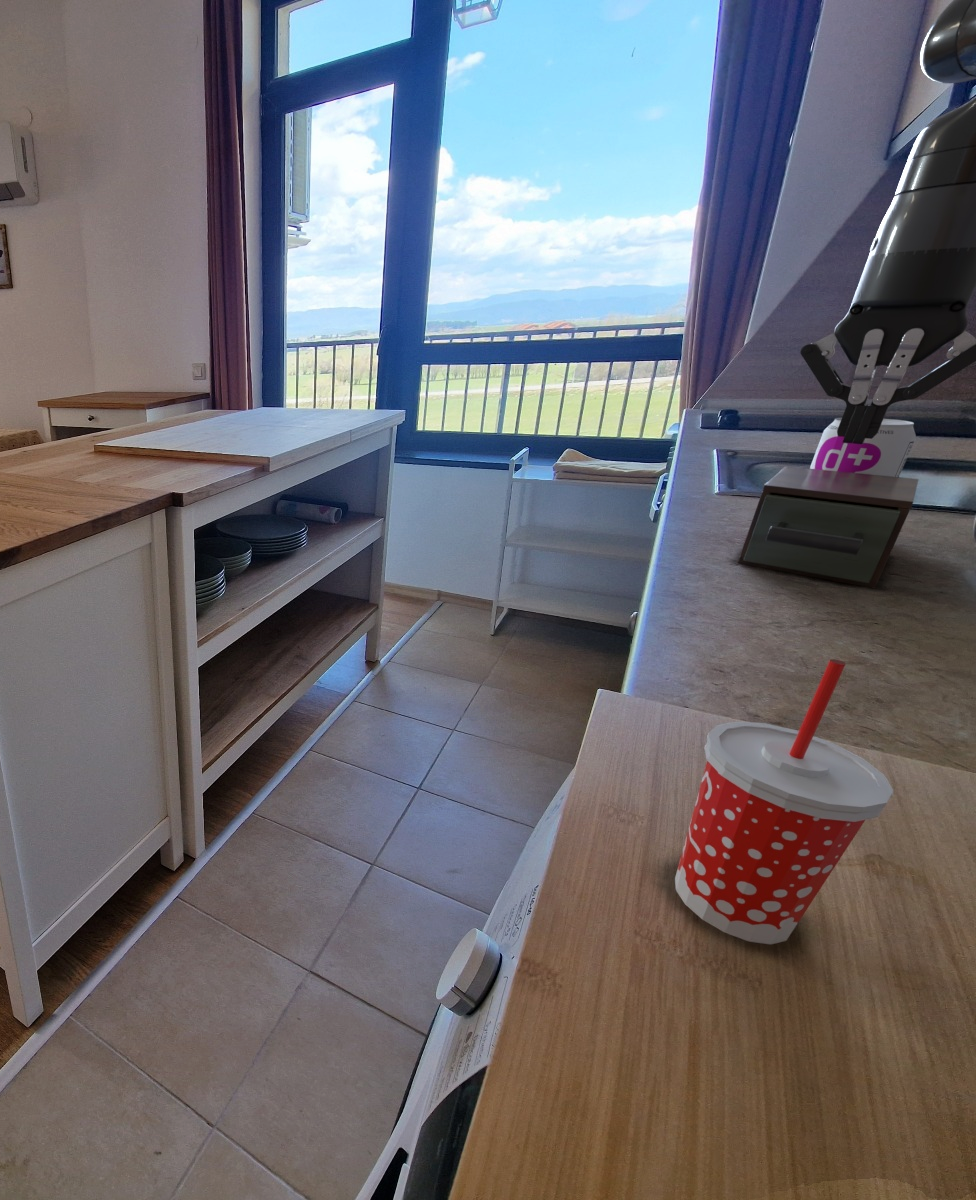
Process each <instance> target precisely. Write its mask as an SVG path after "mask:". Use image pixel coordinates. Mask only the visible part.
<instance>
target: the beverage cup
mask: <svg viewBox="0 0 976 1200" xmlns="http://www.w3.org/2000/svg"><path fill="white" fill-rule="evenodd" d="M846 664H847V663H846V662H845V661H843V660H840V659H836V658H832V659H829V661H828V663H827V666H826V668H825V670H824V672H823V675H822V677H821V679H820V682H819V684H818V686H817V689H816V691H815V693H814V696H813V698H812V700H811V702H810V705H809V707H808V709H807V712H806V714H805V716H804V718H803V720H802V723H801V726H800V728H799V730H796V729H792V728H788V727H784V726H779V725H775V724H772V723H771V724H770V723H765V722H753V721H742V720H741V721H739V720H738V721H730V722H725V723H719V724H718V723H717V725H716V726H715V727H713V728H712V729H711V730H710V731H709V732H708V733H707V735H706V741H707V742H706V744H705V745H704V746H703V748H704V754H705V758H706V764H705V768H704V771H703V774H702V779H701V782H700V786H699V789H698V794H697V797H696V800H695V803H694V808H693V811H692V816H691V818H690V823H689V826H688V829H687V832H686V838H685V841H684V845H683V848H682V851H681V855H680V859H679V863H678V865H677V866H678V867H677V870H676V874H675V877H674V883H675V884H674V885H675V891H676V893H677V894H678V896H679V897H680V899H681V900H682V902H683V903H684V905H685V906H686V907H688V908H689V909H690V910H691V911H692V912H693V913H694V914H695V915H696V916H698V917H699V918H700V919H701V920H702V921H704V922H705V923H707V924H710V925H711V926H713V927H714V928H715V929H718V930H720V931H721V932H723V933H725V934H727V935H729V936H733V937H736V938H738V939H741V940H743V941H746V942H751V943H758V944H766V945H774V944H778V943H782V942H786V941H788V939H789V937H790V936H791V934H792V933H793V931H794V930H795V928H796V927H797V925H798V924H799V922H800V921H801V919H802V917H804V914H805V913H806V911H807V910H808V909H809V907H810V905H811V904H812V902H813V901H814V899H815V898H816V897H817V894H818V893H819V892H820V890H821V888H822V887H823V886H824V884H825V882H826V881H827V879H828V878H829V876H830V875H831V873H832V871H834V869H835V867H836V866H837V864H838V863H839V861H840V860H841V858H842V857H843V855H844V854H845V852H846V850H848V847H849V846H850V844H851V843H852V841H853V840H854V838H855V837H856V835H857V833H858V832H859V831H860V829H861V828H862V827H863V824H864V823H865V821H866V820H870V819H876V818H878V817H879V816H880V814H881V813H882V811H883V809H884V808H885V807H886V806H887V803H888V802H889V800H890V799H891V797H892V795H893V793H894V789H893V787H892V785H891V784H890V782H889V780H888V777H886V775H885V774H884V773H883V772H881V771H880V770H878V769H877V768H876V767H875V766H873V765H872V764H871V763H870V762H869V761H867V760H866V759H864V758H863V757H861V756H860V755H857V754H855V753H853V752H851V751H849V750H847V749H845V748H844V747H842V746H840V745H837V744H836V743H834V742H832V741H828V740H827V739H823V738H821V737H817V736H815V733H816V731H817V729H818V727H819V724H820V722H821V720H822V718H823V715H824V714H825V711H826V709H827V708H828V705H829V702H830V699H831V698H832V695H833V693H834V691H835V690H836V689H835V688H836V687H837V684H838V682H839V680H840V678H841V675H842V673H843V671H844V668H845V666H846Z"/></svg>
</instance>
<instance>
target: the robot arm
mask: <svg viewBox="0 0 976 1200" xmlns="http://www.w3.org/2000/svg"><path fill="white" fill-rule="evenodd" d="M919 62H920V63H919V64H920V68H921V70H922V72H923V74H924V75H925V76H926V77H927V78H928V79H930V80H931V81H934V82H936V83H940V84H958V83H959V84H960V83H965V82H969V81H973V80H976V0H951V1H950V2H949V4H948V5H947V6H946V7H944V9H943V10H942V11H941V12H940V14H939V15H938V16H937V18H936V19H935V20H934V21H933V23H932V25H931V26H930V28H929V30H928V31H927V33H926V35H925V37H924V39H923V42H922V45H921V49H920V55H919ZM869 251H870V252H869V255H868V257H867V260H866V263H865V265H864V268H863V271H862V274H861V276H860V279H859V282H858V284H857V287H856V290H855V292H854V296H853V299H852V301H851V304H850V307H849V308H848V309H849V310H847V311H848V312H847V313H846V315H845V316H844V318H842V319H841V320H840V321H839V322H838V323H837V324H836V326H835V327H834V330H833V331H834V332H832V333H830V334H828V335H825V336H824V337H822V338H820V339H818V340H816V341H814V342H811V343H808V344H806V345H804V346H802V348H801V349H800V352H799V353H800V355H801V357H802V358H803V360H804V362H805V363H806V364H807V366H808V368H809V369H810V371H811V372H812V374H813V376H814V378H815V379H816V380H817V382H818V383H819V385H820V386H821V388H822V389H823V391H824V392H825V395H827V396H828V397H830V398H837V399H839V400H842V401H843V402H844V403H845V404H846V406H845V409H844V412H843V414H842V417H841V418H842V419H841V422H840V424H839V427H838V430H837V435H838V436H840V437H844V439H843V442H842V443H853V444H863V443H864V440H865V438H868V439H872V438H873V437H874V436H875V435H876V434H877V433H878V431H879V428H880V426H881V424H882V421H883V419H885V417H886V413H887V411H888V409H889V407H890V406H891V405H893V404H896V403H898V402H904V401H909V400H915V399H917V398H918V397H921V396H922V395H924V394H925V393H927V392H928V391H930V390H932V389H934V388H935V387H937V386H938V385H940V384H941V383H943V382H945V381H947V380H948V379H949V378H951V377H953V376H954V375H956V374H957V373H959V372H961V371H962V370H964V369H966V368H967V367H968V366H970V365H972V364H974V363H975V362H976V337H975V336H973V335H972V334H971V333H969V332H968V331H966V330H967V328H968V325H969V320H968V318H967V308H968V306H969V304H970V301H971V298H972V296H973V294H974V292H975V289H976V96H974V97H973V98H971V99H970V100H969V101H967V102H965V103H964V104H962V105H960V106H959V107H956V108H954V109H952V110H950V111H949V112H946V113H944V114H942V115H941V116H940V115H939V116H938V117H937V118H935V119H933V120H931V121H930V122H929V123H927V124H926V125H925V126H924V127H923V129H921V131H920V132H919V134H918V136H917V137H916V139H915V141H914V143H913V144H912V147H911V151H910V153H909V155H908V158H907V162H906V163H905V166H904V169H903V171H902V174H901V177H900V180H899V182H898V185H897V188H896V191H895V194H894V197H893V199H892V201H891V203H890V206H889V208H888V209H887V211H886V214H885V215H884V217H883V218H882V221H881V223H880V225H879V228H878V230H877V232H876V235H875V238H873V240H872V242H871V245H870V248H869ZM952 341H953V345H952V347H950V349H948V350H947V352H946V353H945V358H946V359H947V361H945V362H944V363H942V364H941V365H939V366H938V367H936V368H935V369H933V370H931V371H930V372H928V373H926V374H925V375H924V376H922V377H921V378H918V379H917V380H916V381H915V382H913V383H911V384H909V385H906V386H901V387H899V386H900V383H901V382H902V380H903V378H904V376H905V374H906V372H907V371H908V368H910V367H913V366H915V365H918V364H920V363H922V362H923V361H925V360H926V359H927V358H929V357H930V356H932V355H933V354H934V353H936V352H938V351H939V350H940V349H942V348H943V347H945V346H946V345H947V344H949V343H951V342H952ZM837 343H838V344H839V346H840V347H841V349H842V351H843V353H844V355H845V356H846V357H847V360H848V361H849V362H850V364H852V365H853V366H856V368H855V373H854V375H853V379H852V383H851V385H849V384H847V383H845V382H844V381H843V380H842V378H841V375H840V374H839V373H838V372H837V370H836V368H835V367H834V365H833V364H832V362H831V361H830V358H832V357H833V356H834V355H835V353H836V349H835V345H836V344H837ZM880 366H884V367H887V369H886V371H885V373H884V375H883V377H882V379H881V382H880V383H879V385H878V387H877V389H876V391H875V393H874V395H873V398H872V400H871V403H867V402H868V398H869V396H870V395H869V394H870V390H871V387H872V384H873V380H874V377H875V374H876V371H877V367H880Z"/></svg>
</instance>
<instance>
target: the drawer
mask: <svg viewBox="0 0 976 1200" xmlns="http://www.w3.org/2000/svg"><path fill="white" fill-rule="evenodd" d="M899 514H900V510H893V509H891V507H887V506H878V505H870V504H862V503H853V502H845V501H836V500H828V499H820V498H811V497H803V496H794V495H786V494H778V495H769V494H768V495H767V496H766V497H765V500H764V503H763V506H762V509H761V511H760V514H759V517H758V520H757V523H756V526H755V529H754V531H753V534H752V537H751V540H750V543H749V546H748V549H747V551H746V554H745V557H744V561H748V562H754V563H759V564H765V565H771V566H776V567H782V568H787V569H793V570H798V571H804V572H809V573H815V574H820V575H826V576H831V577H837V578H842V579H848V580H853V581H859V582H865V583H869V582H870V580H871V578H872V575H873V573H874V571H875V569H876V566H877V564H878V562H879V559H880V557H881V555H882V553H883V550H884V548H885V546H886V544H887V541H888V539H889V537H890V534H891V532H892V530H893V528H894V525H895V523H896V521H897V519H898V516H899Z"/></svg>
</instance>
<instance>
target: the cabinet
mask: <svg viewBox="0 0 976 1200" xmlns="http://www.w3.org/2000/svg"><path fill="white" fill-rule="evenodd" d="M918 482H919V479H918V478H911V477H903V476H901V477H900V476H899V477H892V476H881V475H871V474H860V473H850V472H839V471H829V470H818V469H810V468H809V467H808V468H806V467H797V466H787V465H786V466H784V467H783V468H781V470H779V472H778V473H776V474H775V475H774V476H773V477H772V478H770V480H769V481H767V482H766V483H764V485H763V487H762V491H761V494H760V496H759V500H758V502H757V505H756V508H755V511H754V514H753V517H752V520H751V523H750V526H749V528H748V532H747V534H746V537H745V540H744V542H743V546H742V549H741V551H740V554H739V557H738V560H737V564H742V565H746V566H753V567H758V568H764V569H769V570H773V571H780V572H785V573H789V574H795V575H801V576H806V577H807V576H808V577H812V578H817V579H818V578H819V579H824V580H828V581H835V582H840V583H845V584H850V585H855V586H861V587H867V588H872V589H876V587H877V585H878V582H879V580H880V578H881V576H882V574H883V571H884V569H885V567H886V564H887V562H888V560H889V558H890V555H891V553H892V551H893V548H894V546H895V544H896V543H897V539H898V537H899V535H900V533H901V531H902V529H903V526H904V524H905V522H906V519H907V517H908V515H909V514H910V510H911V508H912V506H913V504H914V501H915V496H916V493H917V487H918V484H919V483H918ZM768 494H769V495H778V494H786V495H794V496H803V497H811V498H820V499H828V500H836V501H845V502H853V503H862V504H870V505H878V506H887V507H891V509H893V510H900V514H899V516H898V519H897V521H896V523H895V525H894V528H893V530H892V532H891V534H890V537H889V539H888V541H887V544H886V546H885V548H884V550H883V553H882V555H881V557H880V559H879V562H878V564H877V566H876V569H875V571H874V573H873V575H872V578H871V580H870V582H869V583H865V582H859V581H853V580H848V579H842V578H837V577H831V576H826V575H820V574H815V573H809V572H804V571H798V570H793V569H787V568H782V567H776V566H771V565H765V564H759V563H754V562H748V561H744V557H745V554H746V551H747V549H748V546H749V543H750V540H751V537H752V534H753V531H754V529H755V526H756V523H757V520H758V517H759V514H760V511H761V509H762V506H763V503H764V500H765V497H766V496H767V495H768Z"/></svg>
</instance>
